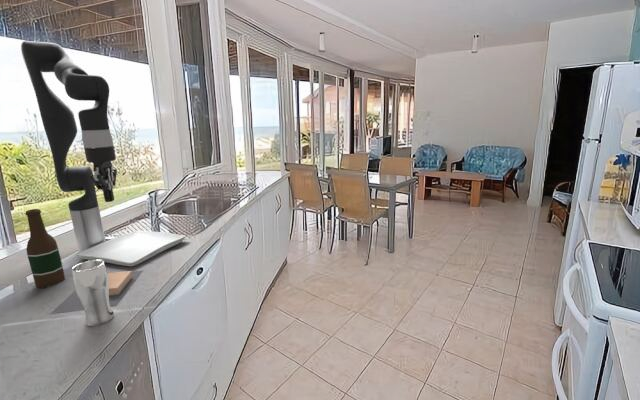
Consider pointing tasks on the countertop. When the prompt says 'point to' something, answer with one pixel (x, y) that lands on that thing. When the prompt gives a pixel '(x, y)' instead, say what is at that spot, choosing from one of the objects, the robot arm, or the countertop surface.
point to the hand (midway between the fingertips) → (109, 201)
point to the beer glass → (93, 291)
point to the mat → (75, 304)
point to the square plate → (132, 247)
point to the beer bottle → (43, 253)
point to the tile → (118, 281)
